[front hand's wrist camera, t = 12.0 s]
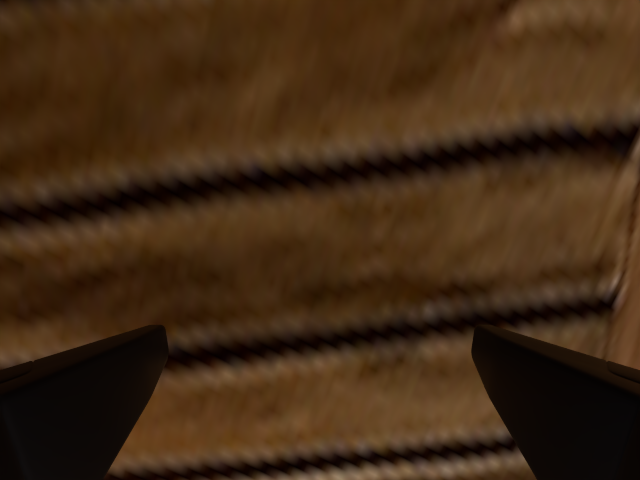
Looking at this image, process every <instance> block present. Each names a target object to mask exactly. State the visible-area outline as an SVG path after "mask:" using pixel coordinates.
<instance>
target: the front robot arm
mask: <svg viewBox="0 0 640 480" xmlns="http://www.w3.org/2000/svg"><path fill="white" fill-rule="evenodd" d="M168 353H169V350H168V343H167V336H166V330H165V327H164V326H163V325H148V326H145V327H142V328H138V329H135V330H132V331H129V332H125V333H122V334H119V335H116V336H112V337H109V338H106V339H103V340H99V341H96V342H93V343H90V344H86V345H83V346H80V347H77V348H73V349H70V350H67V351H64V352H60V353H57V354H54V355H51V356H47V357H44V358H41V359H38V360H35V361H34V362H32V361H29V362H26V363H23V364H20V365H16V366H13V367H9V368H6V369H3V370H0V480H103V479H104V477H105V475H106V473H107V472H108V470H109V468H110V467H111V465H112V463H113V461H114V460H115V458H116V456H117V455H118V453H119V451H120V449H121V448H122V446H123V444H124V443H125V441H126V439H127V437H128V436H129V434H130V432H131V431H132V429H133V427H134V425H135V424H136V422H137V420H138V419H139V417H140V415H141V413H142V412H143V410H144V408H145V407H146V405H147V403H148V401H149V400H150V398H151V396H152V394H153V391H154V389H155V387H156V384H157V382H158V380H159V377H160V375H161V373H162V370H163V368H164V366H165V363H166V361H167V358H168ZM471 353H472V358H473V361H474V363H475V366H476V368H477V370H478V373H479V375H480V377H481V380H482V382H483V384H484V387H485V389H486V391H487V394H488V396H489V398H490V400H491V401H492V403H493V405H494V407H495V408H496V410H497V412H498V413H499V415H500V417H501V419H502V420H503V422H504V424H505V425H506V427H507V429H508V431H509V432H510V434H511V436H512V437H513V439H514V441H515V443H516V444H517V446H518V448H519V449H520V451H521V453H522V455H523V456H524V458H525V460H526V461H527V463H528V465H529V467H530V468H531V470H532V472H533V473H534V475H535V477H536V479H537V480H640V370H637V369H634V368H631V367H627V366H624V365H620V364H617V363H614V362H611V361H608V362H606V361H605V360H602V359H599V358H596V357H593V356H589V355H586V354H583V353H580V352H576V351H573V350H570V349H567V348H563V347H560V346H557V345H554V344H550V343H547V342H544V341H541V340H537V339H534V338H531V337H528V336H524V335H521V334H518V333H515V332H511V331H508V330H505V329H502V328H498V327H495V326H492V325H477V326H476V327H475V330H474V336H473V343H472V350H471Z"/></svg>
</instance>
